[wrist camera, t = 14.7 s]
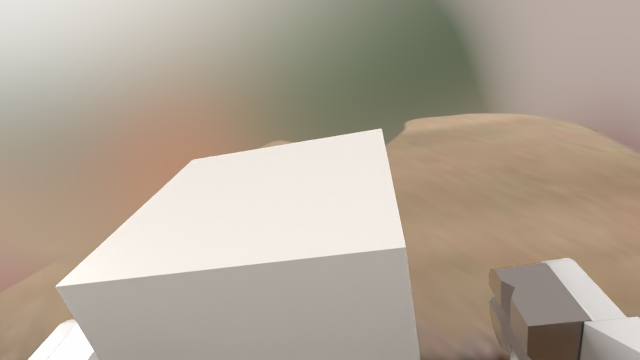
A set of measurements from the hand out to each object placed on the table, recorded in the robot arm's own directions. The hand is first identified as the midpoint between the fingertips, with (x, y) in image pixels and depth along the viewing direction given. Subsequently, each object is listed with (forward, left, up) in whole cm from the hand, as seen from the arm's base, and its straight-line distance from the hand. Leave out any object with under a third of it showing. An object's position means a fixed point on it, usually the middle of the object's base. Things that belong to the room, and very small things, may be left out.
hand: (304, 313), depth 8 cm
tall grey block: (0, -1, -8) cm, 8 cm away
